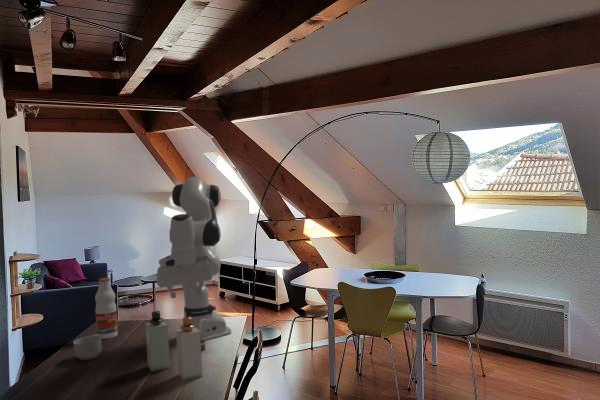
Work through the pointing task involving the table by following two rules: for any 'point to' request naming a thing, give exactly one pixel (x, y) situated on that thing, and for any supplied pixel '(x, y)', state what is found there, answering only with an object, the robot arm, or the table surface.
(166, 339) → the block
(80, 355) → the teacup
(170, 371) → the table surface
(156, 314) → the black plunger
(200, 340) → the architectural model
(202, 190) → the robot arm
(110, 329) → the fruit juice
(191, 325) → the terracotta plunger
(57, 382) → the table surface
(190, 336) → the block
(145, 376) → the table surface
